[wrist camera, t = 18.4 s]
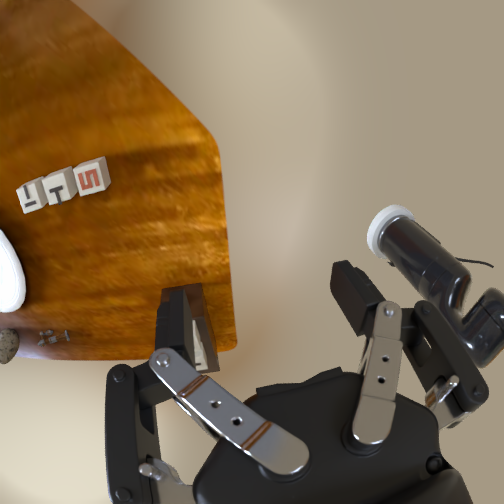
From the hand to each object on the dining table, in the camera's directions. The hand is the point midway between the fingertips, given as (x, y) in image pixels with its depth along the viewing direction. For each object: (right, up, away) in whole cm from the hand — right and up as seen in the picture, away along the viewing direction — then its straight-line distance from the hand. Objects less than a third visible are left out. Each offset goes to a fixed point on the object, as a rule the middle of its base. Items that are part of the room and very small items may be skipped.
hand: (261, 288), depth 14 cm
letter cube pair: (-30, +11, +17) cm, 37 cm away
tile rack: (-12, -11, +36) cm, 39 cm away
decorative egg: (-58, -17, +30) cm, 68 cm away
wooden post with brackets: (-43, -16, +32) cm, 56 cm away
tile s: (-22, +13, +18) cm, 31 cm away
